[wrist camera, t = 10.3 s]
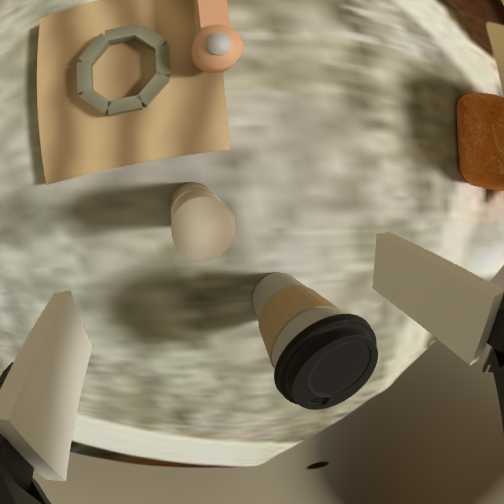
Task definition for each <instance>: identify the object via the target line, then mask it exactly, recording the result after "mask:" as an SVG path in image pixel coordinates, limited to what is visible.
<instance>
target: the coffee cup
mask: <svg viewBox="0 0 504 504" xmlns="http://www.w3.org/2000/svg"><path fill="white" fill-rule="evenodd" d="M252 303H253V307H254V310H255V313H256V316H257V319H258V322H259V329H260V332H261V335H262V338H263V341H264V343H265V346H266V349H267V352H268V355H269V358H270V361H271V364H272V366H273V367H274V368H275V372H274V380H275V384H276V387H277V389H278V390H279V392H280V393H281V394H282V395H283V396H284V397H285V398H286V399H287V400H289V401H290V402H292V403H295V404H298V405H300V406H302V407H304V408H307V409H313V410H317V409H324V408H328V407H332V406H334V405H337V404H339V403H341V402H343V401H345V400H346V399H348V398H349V397H351V396H352V395H354V394H355V393H356V392H357V391H358V390H359V389H360V388H361V387H362V386H363V385H364V384H365V383H366V382H367V381H368V379H369V378H370V376H371V375H372V373H373V371H374V369H375V367H376V364H377V359H378V350H377V347H376V337H375V334H374V332H373V330H372V329H371V327H370V325H369V324H368V322H367V321H366V320H364V319H363V318H361V317H359V316H357V315H353V314H345V313H344V312H343V311H341V310H340V309H339V308H337V307H336V306H334V305H333V304H332V303H330V302H329V301H328V300H326V299H325V298H323V297H322V296H321V295H319V294H318V293H316V292H315V291H314V290H312V289H310V288H308V287H306V286H304V285H303V284H302V283H300V282H299V281H297V280H296V279H295V278H293V277H292V276H290V275H288V274H284V273H272V274H269V275H267V276H266V277H264V278H263V279H262V280H261V281H260V282H259V283H258V284H257V286H256V288H255V290H254V292H253V297H252Z"/></svg>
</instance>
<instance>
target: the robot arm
mask: <svg viewBox="0 0 504 504" xmlns="http://www.w3.org/2000/svg"><path fill="white" fill-rule="evenodd" d="M373 289H374V290H375V291H377V292H378V293H379V294H381V295H382V296H383V297H385V298H386V299H387V300H389V301H390V302H391V303H393V304H394V305H395V306H396V307H398V308H399V309H400V310H402V311H403V312H404V313H406V314H407V315H408V316H409V317H411V318H412V319H413V320H415V321H416V322H417V323H418V324H420V325H421V326H422V327H423V328H425V329H426V330H427V331H428V332H430V333H431V334H432V335H434V336H435V337H436V338H437V339H439V340H440V341H441V342H442V343H443V344H445V345H446V346H447V347H449V348H450V349H451V350H452V351H454V352H455V353H456V354H457V355H458V356H460V357H461V358H462V359H463V360H464V361H466V362H467V363H468V364H469V365H471V364H473V363H474V362H475V361H477V360H478V359H480V358H481V357H482V354H483V352H484V349H485V347H486V345H487V343H488V344H489V345H491V346H492V347H491V350H490V352H489V355H488V357H487V359H486V362H485V364H484V366H483V372H485V371H486V369H487V366H488V365H490V364H491V366H490V368H489V371H488V372H493V373H494V378H495V382H496V387H497V393H498V398H499V404H500V409H501V415H502V423H503V430H504V290H502V289H500V288H498V287H497V286H495V285H493V284H491V283H490V282H488V281H486V280H484V279H482V278H480V277H479V276H477V275H475V274H473V273H471V272H469V271H467V270H466V269H464V268H462V267H460V266H458V265H456V264H454V263H452V262H450V261H448V260H446V259H444V258H442V257H440V256H438V255H436V254H434V253H432V252H430V251H428V250H426V249H424V248H422V247H420V246H418V245H416V244H414V243H412V242H410V241H407V240H405V239H403V238H401V237H399V236H397V235H395V234H392V233H390V232H386V233H380V234H376V250H375V265H374V277H373ZM91 351H92V345H91V343H90V341H89V338H88V336H87V334H86V331H85V329H84V326H83V324H82V321H81V319H80V316H79V314H78V311H77V308H76V305H75V303H74V300H73V297H72V294H71V291H66V292H60V293H54V295H53V297H52V298H51V300H50V301H49V303H48V304H47V306H46V307H45V309H44V311H43V312H42V314H41V315H40V317H39V319H38V320H37V322H36V324H35V325H34V327H33V329H32V330H31V332H30V334H29V336H28V337H27V339H26V341H25V343H24V344H23V346H22V348H21V350H20V352H19V354H18V355H17V357H16V359H15V361H14V362H12V363H11V364H10V365H9V366H8V367H7V368H6V369H5V370H4V371H3V373H2V375H1V377H0V504H51V503H50V501H49V500H48V499H47V497H46V495H45V494H44V492H43V490H42V489H41V487H40V486H39V484H38V483H37V482H36V481H35V479H33V478H32V476H33V471H34V469H35V470H36V471H37V472H38V473H39V474H40V475H41V476H42V477H44V478H45V479H49V480H59V481H66V475H67V467H68V459H69V453H70V446H71V440H72V434H73V429H74V423H75V418H76V413H77V408H78V403H79V399H80V394H81V390H82V386H83V382H84V378H85V374H86V370H87V366H88V362H89V358H90V355H91Z"/></svg>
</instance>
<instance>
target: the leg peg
mask: <svg viewBox="0 0 504 504" xmlns="http://www.w3.org/2000/svg"><path fill="white" fill-rule="evenodd" d="M170 206H171V229H172V237H173V241H174V243H175V245H176V247H177V248H178V249H179V250H180V251H181V252H182V253H183V254H184V255H186V256H187V257H189V258H192V259H195V260H210V259H213V258H216V257H218V256H220V255H221V254H223V253H224V252H225V251H226V250H227V249H228V248H229V246H230V245H231V243H232V241H233V239H234V236H235V229H236V227H235V220H234V217H233V215H232V213H231V211H230V210H229V209H228V208H227V206H226V205H225V204H224V203H223V202H222V201H221V200H219V199H218V198H217V197H216V196H215V195H214V194H213V193H212V192H211V191H210V190H209V189H208V188H207V187H206V186H205V185H203V184H201V183H197V182H189V183H185V184H183V185H181V186H180V187H178V188H177V189H176V190H175V192H174V193H173V195H172V198H171V204H170Z"/></svg>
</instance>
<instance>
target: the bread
mask: <svg viewBox="0 0 504 504" xmlns="http://www.w3.org/2000/svg"><path fill="white" fill-rule="evenodd" d="M457 134H458V152H459V166H460V171H461V173H462V175H463V177H464V179H465V181H467V182H468V183H469V184H471V185H473V186H477V187H482V188H487V189H493V190H500V191H504V98H503V97H500V96H497V95H493V94H487V93H470V94H465V95H463V96H462V97H461V98H459V100H458V103H457Z"/></svg>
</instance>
